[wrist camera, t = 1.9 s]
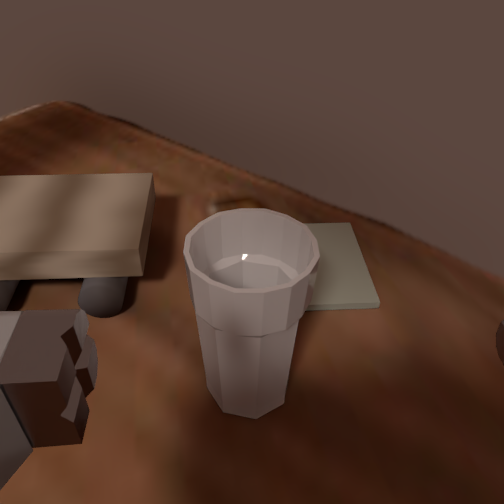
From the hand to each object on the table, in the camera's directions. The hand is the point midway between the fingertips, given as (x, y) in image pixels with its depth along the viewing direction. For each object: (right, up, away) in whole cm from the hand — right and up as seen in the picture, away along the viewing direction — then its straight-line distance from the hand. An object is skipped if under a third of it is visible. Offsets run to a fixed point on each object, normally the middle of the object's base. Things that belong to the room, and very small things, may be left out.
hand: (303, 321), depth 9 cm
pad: (+3, 0, +30) cm, 30 cm away
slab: (-16, 0, +30) cm, 34 cm away
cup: (-1, -7, +21) cm, 23 cm away
